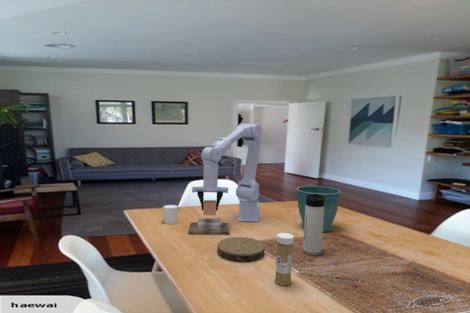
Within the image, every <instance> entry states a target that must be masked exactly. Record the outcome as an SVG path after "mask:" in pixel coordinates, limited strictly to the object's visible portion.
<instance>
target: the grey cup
mask: <svg viewBox="0 0 470 313" xmlns="http://www.w3.org/2000/svg"><path fill="white" fill-rule="evenodd" d="M162 215H163V223H164V224H166V225H174V224H177V222H178V217H179V205H176V204H165V205H163V206H162Z"/></svg>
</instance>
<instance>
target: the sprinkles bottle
mask: <svg viewBox="0 0 470 313" xmlns="http://www.w3.org/2000/svg"><path fill="white" fill-rule="evenodd" d="M294 238H295V237H294V235H293V234H292V233H286V232H280V233H279V232H278V233H277V236H276V244H277V245H276V259H275V276H274V282H275V283H276V284H278V285H280V286H288V285H289V286H290V284H291V283H292V270H293V269H292V268H293V248H294V247H293V245H294V241H295V240H294Z"/></svg>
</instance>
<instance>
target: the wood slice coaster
mask: <svg viewBox="0 0 470 313" xmlns="http://www.w3.org/2000/svg"><path fill="white" fill-rule="evenodd" d="M216 252H217V255H218V256H219V257H220V258H221V259H223V260H226V261H230V262H233V263H253V262H256V261H260V260H261V259H263V258H264V257H265V244H264V243H263V242H261V241H260V240H259V239H255V238H251V237H245V236H244V237H243V236H242V237H241V236H234V237H227V238H224V239H222V240H221V239H220V240H219V241H218V243H217V251H216Z"/></svg>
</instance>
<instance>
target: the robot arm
mask: <svg viewBox="0 0 470 313" xmlns="http://www.w3.org/2000/svg"><path fill="white" fill-rule="evenodd" d="M262 135H263V128H262V126H261V125H260V124H259V123H244V122H243V123H239V124H238V125H236V128H235V130H233V131H232V132H231V133H230V134H229V135H227V136H226V137H225V136H223V137H221V136H220V137H219V138H218V140H217V141H215V142H213V143H211V145H210V146H206V147H204V149H202V152H201V154H200V157H201V160H202V164H203V180H202V183H203V184H202V185H203V186H192V187H191V188H192V189H191V193H196V195H197V198H198V200H199V202H200V206H201V211H203V209H204V200H205V199H204V197H205V193H216V212H217V211H219V210H218V209H219V205H220V202H221V200H222V199H223V196H224V193H225V194H228V193H229V187H226V186H223V187H222V186H218V182H219V181H218V179H219V178H218V177H219V175H218V174H219V162H220V161H221V159H222V157H223V155H224V154H225V153H226V152H227V151H229V150H230V149H231V148H232V145H233V144H234V143H236V142H237V141H238V140H240V139H242V140H243V141H245V142H246V143H247V145H248V146H247V152H246V158H245V166H244V170H243V171H244V172H243V178H242V179H241V180H239V181H238V185H237V186H236V189H235V195H236V197H237V198H238V200H239V201H238V202H239V203H238V206H239V207H238V215H237V221H238V222H257V223H258V222H259V223H260V215H261V214H260V213H261V211H260V210H261V208H260V207H261V206H260V205H261V203H260V200H258V199H259V197H260V190H259V188H260V185H259V183H258V181H256V176H257V174H256V173H257V168H258V162H259V155H260V149H261V145H262V144H261V143H262V138H263V137H262Z"/></svg>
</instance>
